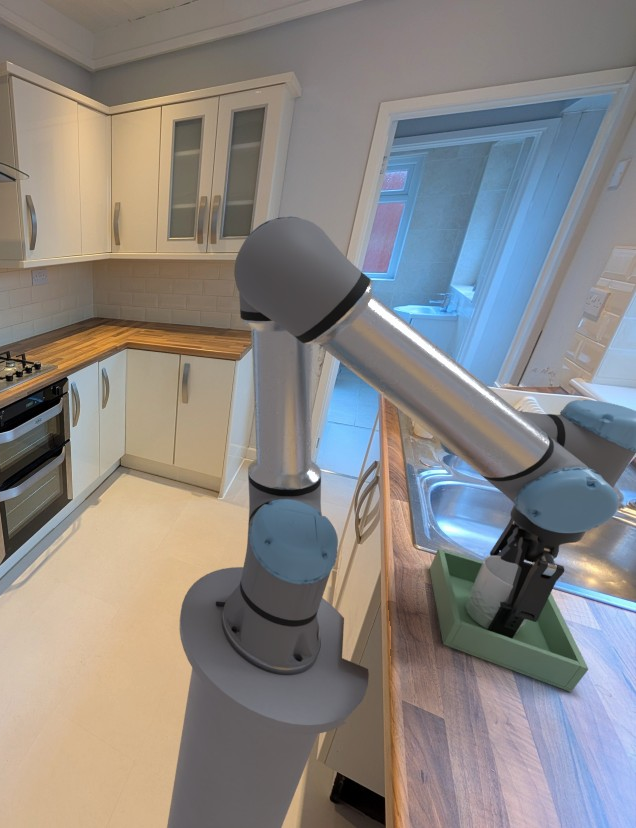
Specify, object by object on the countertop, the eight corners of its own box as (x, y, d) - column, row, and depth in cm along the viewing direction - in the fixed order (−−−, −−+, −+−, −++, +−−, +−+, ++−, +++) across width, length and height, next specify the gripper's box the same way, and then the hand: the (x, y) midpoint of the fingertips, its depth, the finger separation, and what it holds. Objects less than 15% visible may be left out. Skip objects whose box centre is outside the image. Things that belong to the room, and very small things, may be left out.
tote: (442, 644, 67) (454, 622, 65) (429, 568, 82) (438, 548, 79) (571, 692, 60) (588, 669, 58) (531, 600, 75) (544, 579, 73)
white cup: (470, 591, 76) (493, 548, 71) (530, 623, 70) (558, 578, 65) (453, 612, 72) (475, 568, 67) (514, 648, 66) (543, 602, 61)
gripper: (627, 560, 51) (542, 681, 61) (565, 478, 67) (505, 584, 77) (543, 538, 55) (475, 656, 64) (503, 466, 71) (453, 569, 80)
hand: (492, 617), depth 71 cm, fingers closed on white cup, 8 cm apart
